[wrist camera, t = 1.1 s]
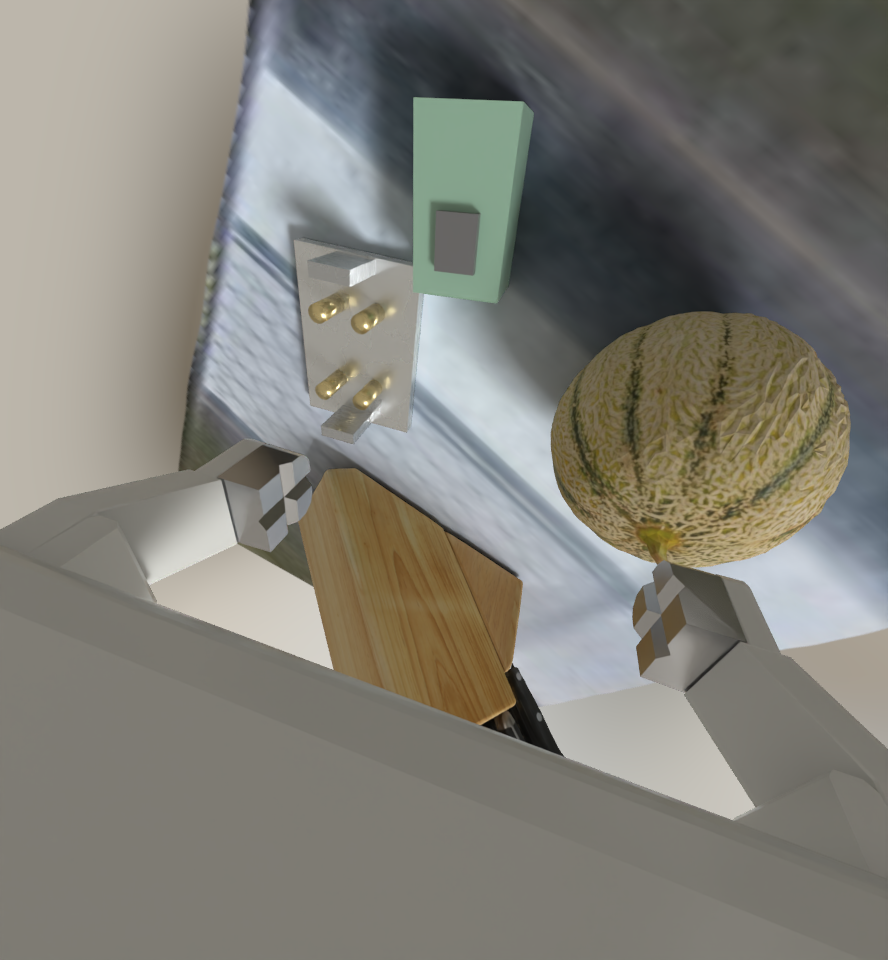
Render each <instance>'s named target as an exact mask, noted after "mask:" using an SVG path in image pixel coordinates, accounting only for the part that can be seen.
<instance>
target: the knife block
mask: <svg viewBox="0 0 888 960" xmlns="http://www.w3.org/2000/svg"><path fill="white" fill-rule="evenodd" d="M298 522H299V526H300V531H301V535H302V539H303V543H304V548H305V552H306V556H307V560H308V564H309V569H310V573H311V577H312V581H313V586H314V589H315V594H316V598H317V602H318V607H319V611H320V615H321V619H322V623H323V627H324V631H325V636H326V640H327V644H328V648H329V652H330V656H331V660H332V664H333V668H334V670H335V671H337V672H340V673H343V674H345V675H348V676H351V677H353V678H356V679H359V680H361V681H364V682H367V683H369V684H372V685H375V686H377V687H380V688H383V689H385V690H388V691H391V692H393V693H396V694H399V695H401V696H404V697H407V698H409V699H412V700H415V701H417V702H420V703H422V704H425V705H428V706H430V707H433V708H436V709H438V710H441V711H444V712H446V713H449V714H452V715H454V716H457V717H460V718H462V719H465V720H468V721H470V722H473V723H476V724H478V725H481V726H483V727H486V728H489V729H491V730H494V731H497V732H499V733H502V734H505V735H507V736H510V737H513V738H515V739H518V740H521V741H523V742H526V743H529V744H531V745H534V746H536V747H539V748H542V749H544V750H547V751H550V752H552V753H555V754H558V755H560V756H563V754H562V753H561V751H560V750H559V748H558V746H557V744H556V743H555V740H554V738H553V737H552V735H551V733H550V730H549V728H548V726H547V724H546V722H545V720H544V718H543V715H542V713H541V711H540V709H539V708H538V706H537V704H536V701H535V699H534V698H533V696H532V694H531V692H530V690H529V689H528V687H527V685H526V683H525V681H524V679H523V677H522V676H521V674H520V672H519V670H518V668H517V667H514V665H513V663H512V661H513V655H514V647H515V640H516V633H517V626H518V619H519V612H520V604H521V595H522V587H523V582H522V581H521V580H519V579H518V578H516V577H515V576H513V575H512V574H510V573H509V572H507V571H506V570H504V569H503V568H501V567H500V566H498V565H497V564H495V563H494V562H492V561H491V560H489V559H488V558H486V557H485V556H483V555H482V554H480V553H479V552H477V551H476V550H474V549H473V548H471V547H470V546H468V545H467V544H465V543H464V542H462V541H461V540H459V539H457V538H456V537H454V536H453V535H451V534H449V533H447V532H444V530H443V528H442V527H440V526H439V525H438V524H436V523H435V522H434V521H432V520H431V519H429V518H428V517H426V516H425V515H423V514H422V513H421V512H419V511H418V510H416V509H415V508H413V507H412V506H410V505H409V504H407V503H406V502H404V501H403V500H401V499H400V498H399V497H397V496H396V495H394V494H393V493H391V492H390V491H388V490H387V489H385V488H384V487H382V486H381V485H379V484H378V483H377V482H375V481H374V480H372V479H371V478H369V477H368V476H366V475H365V474H363V473H362V472H360V471H359V470H357V469H356V468H347V469H328V470H327V471H326V472H325V473H324V475H323V478H322V479H321V481H320V483H319V484H318V486H317V488H316V489H315V491H314V493H313V494H312V499H311V504H310V506H309V508H308V510H307V512H306V514H305V515H304V516H303V517H302V518H301V519H300V521H298ZM511 664H512V665H511ZM510 667H511V669H510ZM563 757H564V756H563Z"/></svg>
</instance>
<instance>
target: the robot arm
mask: <svg viewBox="0 0 888 960" xmlns="http://www.w3.org/2000/svg"><path fill="white" fill-rule="evenodd" d="M310 471H311V470H310V462H309V459H308V458H307V457H306V456H305V455H302V454H299V453H296V452H293V451H290V450H287V449H283V448H280V447H277V446H274V445H271V444H266V443H264V442H260V441H257V440H254V439H243V440H242V441H240V442H239V443H237V444H236V445H234V446H233V447H231V448H229V449H228V450H226V451H225V452H223V453H222V454H220V455H219V456H217V457H216V458H214V459H213V460H211V461H210V462H208V463H206V464H205V465H203V466H202V467H200V468H199V469H197V470H196V471H192V470H184V471H180V472H175V473H171V474H166V475H162V476H158V477H153V478H148V479H144V480H139V481H135V482H130V483H126V484H121V485H117V486H112V487H108V488H103V489H99V490H94V491H90V492H85V493H81V494H77V495H72V496H67V497H63V498H58V499H56V500H54V501H52V502H51V503H49V504H47V505H45V506H43V507H42V508H39V509H38V510H36V511H34V512H32V513H30V514H28V515H26V516H25V517H23V518H21V519H19V520H18V521H15V522H14V523H12V524H10V525H8V526H6V527H5V528H3V529H0V960H888V749H887V748H886V747H885V746H884V745H883V744H882V743H881V742H880V741H879V740H878V739H877V738H875V737H874V736H873V735H872V734H871V733H870V732H869V731H868V730H867V729H866V728H865V727H864V726H863V725H862V724H860V722H859V721H857V720H856V719H855V718H854V717H853V716H852V715H851V714H850V713H849V712H848V711H847V710H846V709H844V707H843V706H841V705H840V704H839V703H838V702H837V701H836V700H835V699H834V698H833V697H832V696H831V695H830V694H829V693H828V692H827V691H826V690H824V689H823V688H822V687H821V686H820V685H819V684H818V683H817V682H816V681H815V680H814V679H813V678H812V677H811V676H810V675H809V674H808V673H807V672H805V671H804V670H803V669H802V668H801V667H800V666H799V665H798V664H797V663H796V662H795V661H794V660H793V659H792V658H790V657H788V656H785V655H781V653H780V651H779V649H778V646H777V644H776V642H775V640H774V638H773V636H772V634H771V632H770V629H769V627H768V625H767V623H766V621H765V619H764V617H763V615H762V612H761V610H760V608H759V606H758V604H757V602H756V600H755V597H754V595H753V593H752V591H751V589H750V587H749V586H748V585H747V584H746V583H745V582H743V581H739V580H736V579H732V578H728V577H725V576H721V575H717V574H716V575H714V574H711V573H708V572H704V571H701V570H697V569H694V568H690V567H687V566H683V565H680V564H676V563H673V562H669V561H666V560H663V561H662V562H660V563H659V564H658V565H657V566H656V568H655V569H654V571H653V572H652V573H653V578H654V582H652V583H649V584H646V585H644V586H642V588H641V590H640V591H639V593H638V594H637V596H636V599H635V603H634V606H633V617H632V618H633V627H634V629H635V630H636V632H637V633H638V634H639V636H640V637H641V638H642V640H641V641H640V642H639V644H638V645H637V646H636V649H637V656H638V663H639V670H640V677H643V678H646V679H648V680H651V681H654V682H657V683H659V684H662V685H665V686H668V687H670V688H673V689H676V690H678V691H681V692H684V693H685V694H684V695H685V697H686V699H687V700H688V702H689V703H690V705H691V706H692V708H693V709H694V711H695V713H696V714H697V716H698V717H699V719H700V721H701V722H702V724H703V725H704V727H705V728H706V730H707V731H708V733H709V735H710V736H711V738H712V740H713V741H714V743H715V744H716V746H717V747H718V749H719V751H720V752H721V754H722V755H723V757H724V758H725V760H726V762H727V763H728V765H729V766H730V768H731V769H732V771H733V773H734V774H735V776H736V777H737V779H738V780H739V782H740V784H741V785H742V787H743V788H744V790H745V791H746V793H747V795H748V796H749V798H750V799H751V801H752V802H753V804H754V806H755V807H756V808H754V809H752V810H750V811H748V812H746V813H744V814H742V815H740V816H738V817H736V818H735V819H734V820H730V819H727V818H725V817H722V816H720V815H717V814H714V813H711V812H709V811H706V810H704V809H701V808H698V807H696V806H693V805H690V804H688V803H685V802H682V801H679V800H677V799H674V798H672V797H669V796H666V795H663V794H661V793H658V792H655V791H653V790H650V789H648V788H645V787H642V786H640V785H637V784H634V783H632V782H629V781H627V780H624V779H621V778H619V777H616V776H613V775H610V774H608V773H605V772H602V771H600V770H597V769H595V768H592V767H589V766H587V765H584V764H582V763H579V762H576V761H573V760H571V759H568V758H566V757H563V756H560V755H558V754H555V753H552V752H550V751H547V750H544V749H542V748H539V747H536V746H534V745H531V744H529V743H526V742H523V741H521V740H518V739H515V738H513V737H510V736H507V735H505V734H502V733H499V732H497V731H494V730H491V729H489V728H486V727H483V726H481V725H478V724H476V723H473V722H470V721H468V720H465V719H462V718H460V717H457V716H454V715H452V714H449V713H446V712H444V711H441V710H438V709H436V708H433V707H430V706H428V705H425V704H422V703H420V702H417V701H415V700H412V699H409V698H407V697H404V696H401V695H399V694H396V693H393V692H391V691H388V690H385V689H383V688H380V687H377V686H375V685H372V684H369V683H367V682H364V681H361V680H359V679H356V678H353V677H351V676H348V675H345V674H343V673H340V672H337V671H335V670H332V669H329V668H327V667H324V666H321V665H319V664H316V663H313V662H310V661H308V660H305V659H303V658H300V657H297V656H295V655H292V654H289V653H287V652H284V651H281V650H279V649H276V648H273V647H271V646H268V645H266V644H263V643H260V642H258V641H255V640H252V639H250V638H247V637H244V636H242V635H239V634H236V633H234V632H231V631H228V630H226V629H223V628H220V627H218V626H215V625H212V624H210V623H207V622H204V621H202V620H199V619H196V618H194V617H191V616H189V615H186V614H183V613H181V612H178V611H175V610H173V609H170V608H167V607H165V606H162V605H159V604H157V603H156V602H157V600H156V598H155V596H154V594H153V592H152V590H151V588H150V586H149V585H150V584H152V583H154V582H157V581H159V580H161V579H163V578H165V577H167V576H170V575H172V574H174V573H176V572H178V571H180V570H182V569H184V568H187V567H189V566H191V565H193V564H195V563H197V562H200V561H202V560H204V559H206V558H208V557H210V556H212V555H215V554H217V553H219V552H221V551H223V550H225V549H227V548H230V547H232V546H234V545H236V544H237V542H239V543H242V544H246V545H249V546H252V547H256V548H259V549H262V550H265V551H269V552H271V551H272V550H273V549H274V548H275V547H276V546H277V544H278V543H279V542H280V541H281V540H282V539H283V538H284V537H285V536H286V535H287V534H288V525H290V524H293V523H295V522H298V521H300V519H301V518H302V517H303V516H304V515H305V514H306V512H307V510H308V508H309V506H310V504H311V499H312V485H311V484H310V482H309V481H308V479H307V478H306V475H307V474H308V473H309V472H310Z"/></svg>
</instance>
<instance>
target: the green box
mask: <svg viewBox="0 0 888 960" xmlns="http://www.w3.org/2000/svg"><path fill="white" fill-rule="evenodd" d="M533 116H534V112H533V111H532V110H531V109H530V108H529V107H528V106H527V105H526V104H525V103H524V102H521V101H496V100H470V99H445V98H419V97H413V292H415V293H422V294H430V295H437V296H444V297H452V298H459V299H467V300H474V301H481V302H489V303H496V304H497V303H498V301H499V300H500V298H501V297H502V295H503V294H504V292H505V291H506V289H507V288H508V286H509V280H510V273H511V266H512V260H513V253H514V246H515V239H516V232H517V226H518V219H519V212H520V205H521V198H522V191H523V185H524V178H525V171H526V164H527V157H528V151H529V144H530V137H531V130H532V123H533Z"/></svg>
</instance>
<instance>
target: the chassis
mask: <svg viewBox="0 0 888 960" xmlns="http://www.w3.org/2000/svg"><path fill="white" fill-rule="evenodd" d="M294 249H295V259H296V269H297V279H298V289H299V298H300V308H301V318H302V328H303V338H304V348H305V357H306V367H307V377H308V387H309V397H310V405H311V406H314V407H318V408H321V409H325V410H328V411H332V412H335V413H334V414H333V415H332V416H331V417H330V418H329V419H328V420H327V421H326V422H325V423H323V424H322V425H321V429H322V435H323V436H326V437H330V438H333V439H337V440H340V441H344V442H347V443H351V444H354V443H355V442H356V441H357V439H358V438H359V437H360V436H361V435H362V434H363V432H364V431H365V430H366V429H367V428H368V427H369V425H370V424H371V423H374V424H378V425H382V426H385V427H389V428H392V429H396V430H399V431H403V432H406V433H407V432H408V430H409V429H410V427H411V424H412V413H413V403H414V392H415V382H416V371H417V360H418V350H419V339H420V329H421V318H422V308H423V297H424V294H422V293H415V292H413V262H410V261H406V260H401V259H397V258H392V257H388V256H383V255H378V254H374V253H369V252H365V251H360V250H356V249H351V248H347V247H342V246H338V245H333V244H329V243H324V242H320V241H315V240H311V239H306V238H299V239H295V240H294Z"/></svg>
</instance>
